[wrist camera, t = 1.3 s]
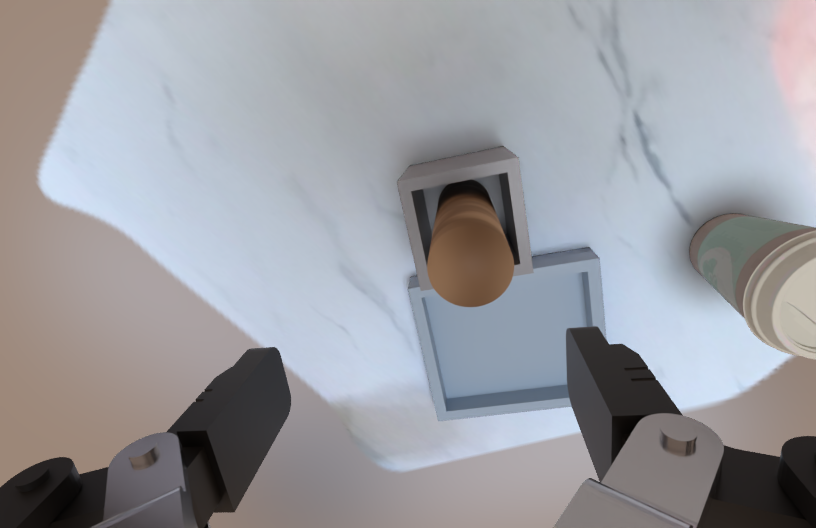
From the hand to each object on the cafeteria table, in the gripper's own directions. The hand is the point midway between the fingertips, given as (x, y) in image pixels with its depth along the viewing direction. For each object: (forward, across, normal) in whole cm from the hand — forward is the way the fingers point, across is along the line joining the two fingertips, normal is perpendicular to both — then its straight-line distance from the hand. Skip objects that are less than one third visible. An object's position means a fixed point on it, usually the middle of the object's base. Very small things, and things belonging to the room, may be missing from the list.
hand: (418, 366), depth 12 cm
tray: (+28, -4, +14) cm, 32 cm away
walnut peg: (+27, -1, +1) cm, 27 cm away
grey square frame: (+28, -1, +1) cm, 28 cm away
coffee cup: (+28, -23, +8) cm, 37 cm away
